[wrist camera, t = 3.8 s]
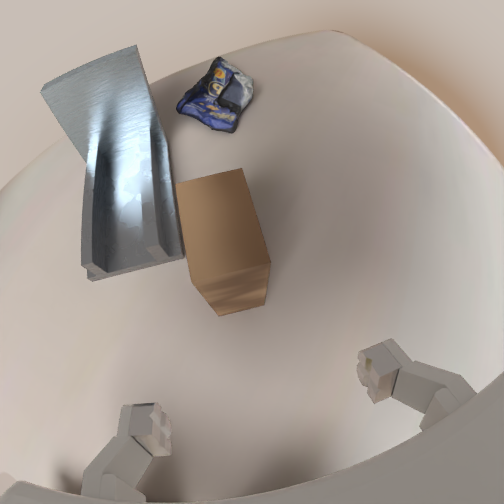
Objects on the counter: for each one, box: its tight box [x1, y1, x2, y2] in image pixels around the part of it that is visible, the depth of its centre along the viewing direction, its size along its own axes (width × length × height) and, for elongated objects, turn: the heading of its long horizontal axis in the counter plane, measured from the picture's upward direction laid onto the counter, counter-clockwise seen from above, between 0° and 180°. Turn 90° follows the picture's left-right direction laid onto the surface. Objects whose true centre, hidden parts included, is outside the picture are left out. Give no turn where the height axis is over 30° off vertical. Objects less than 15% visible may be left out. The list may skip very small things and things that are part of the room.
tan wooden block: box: [175, 168, 271, 316], centre depth 20 cm, size 4×6×11 cm, turn 15°
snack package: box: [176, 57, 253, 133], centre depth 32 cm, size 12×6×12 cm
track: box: [40, 45, 184, 281], centre depth 22 cm, size 10×16×14 cm, turn 15°
